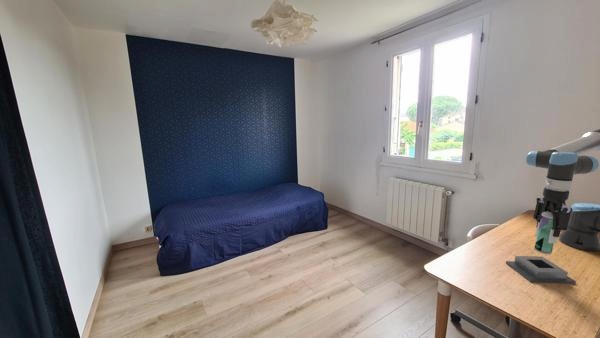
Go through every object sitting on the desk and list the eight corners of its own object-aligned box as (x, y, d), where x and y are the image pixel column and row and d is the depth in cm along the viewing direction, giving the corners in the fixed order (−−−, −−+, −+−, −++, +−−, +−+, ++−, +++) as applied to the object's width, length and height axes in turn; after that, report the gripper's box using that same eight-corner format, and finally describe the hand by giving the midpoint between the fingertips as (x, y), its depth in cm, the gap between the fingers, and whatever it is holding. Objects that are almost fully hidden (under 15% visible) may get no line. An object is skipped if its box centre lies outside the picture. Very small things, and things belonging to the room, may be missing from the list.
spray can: (547, 249, 109) (557, 207, 105) (554, 255, 105) (564, 212, 100) (532, 246, 112) (540, 205, 107) (537, 252, 107) (546, 210, 103)
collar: (545, 263, 117) (547, 255, 116) (575, 283, 103) (578, 274, 102) (505, 262, 118) (507, 254, 117) (530, 282, 104) (532, 272, 103)
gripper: (528, 182, 111) (519, 229, 116) (569, 195, 93) (556, 250, 98) (546, 183, 111) (536, 230, 116) (590, 195, 93) (576, 250, 98)
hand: (545, 239), depth 107 cm, fingers closed on spray can, 5 cm apart
